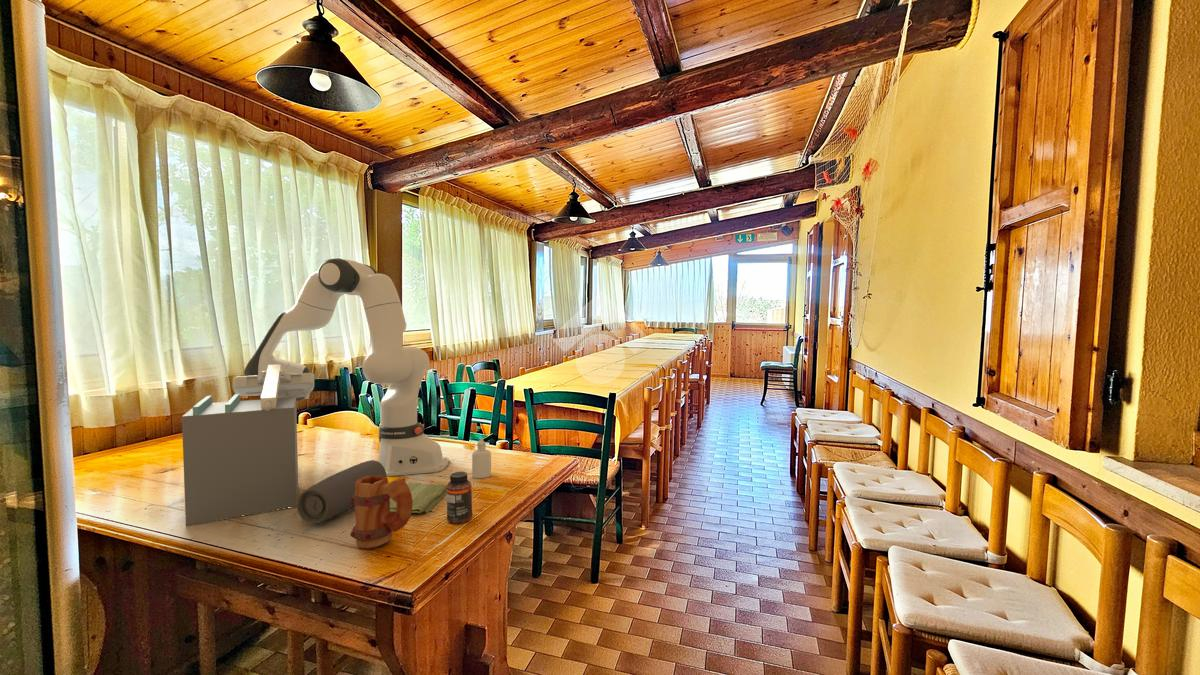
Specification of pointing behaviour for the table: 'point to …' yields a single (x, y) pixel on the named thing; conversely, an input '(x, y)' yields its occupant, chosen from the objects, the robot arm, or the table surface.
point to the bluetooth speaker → (335, 493)
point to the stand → (239, 458)
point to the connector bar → (271, 387)
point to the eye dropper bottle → (481, 461)
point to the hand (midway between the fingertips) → (273, 373)
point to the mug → (379, 509)
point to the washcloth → (423, 497)
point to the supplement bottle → (459, 498)
